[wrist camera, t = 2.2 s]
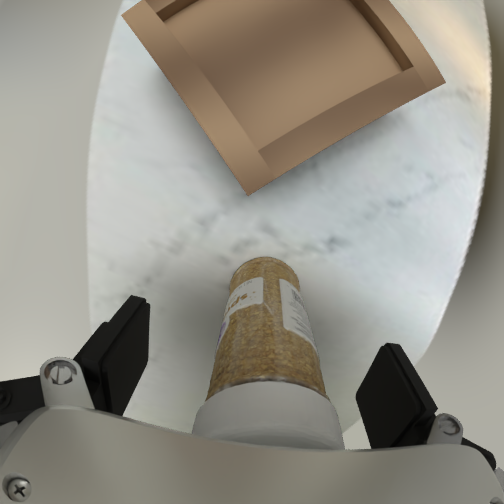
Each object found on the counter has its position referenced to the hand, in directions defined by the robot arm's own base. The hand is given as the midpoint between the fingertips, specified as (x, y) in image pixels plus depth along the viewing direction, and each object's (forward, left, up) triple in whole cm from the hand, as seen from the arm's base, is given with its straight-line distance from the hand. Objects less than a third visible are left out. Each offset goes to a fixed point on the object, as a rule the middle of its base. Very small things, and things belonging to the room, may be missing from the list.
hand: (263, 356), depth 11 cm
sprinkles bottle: (-1, 0, -9) cm, 9 cm away
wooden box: (+10, -8, -9) cm, 15 cm away
